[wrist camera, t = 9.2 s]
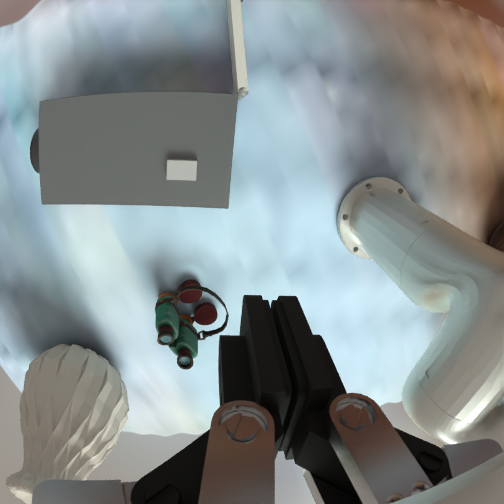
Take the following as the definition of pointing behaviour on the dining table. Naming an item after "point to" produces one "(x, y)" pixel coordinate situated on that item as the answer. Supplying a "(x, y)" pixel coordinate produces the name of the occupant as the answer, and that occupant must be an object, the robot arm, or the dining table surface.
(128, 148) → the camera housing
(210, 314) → the binoculars
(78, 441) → the vase
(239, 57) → the side door
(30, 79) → the dining table surface
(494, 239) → the wooden sphere
